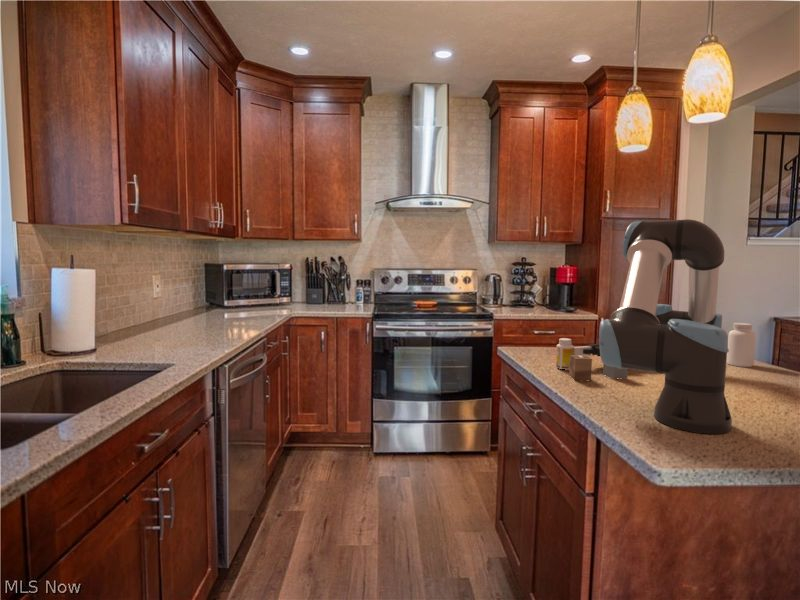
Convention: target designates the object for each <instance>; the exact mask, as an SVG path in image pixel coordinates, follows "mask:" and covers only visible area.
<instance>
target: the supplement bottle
mask: <svg viewBox="0 0 800 600" xmlns="http://www.w3.org/2000/svg"><path fill="white" fill-rule="evenodd" d="M558 341H559V342H558V344H556V351H555V352H556V358H555V362H556V365H555V367H556V369H558V368H559V369H558V370H560V369H565V370H564V371H569V370H570V355H574V347H575V345H574V344H572V341H573V340H572V339H571V338H566V337H562V338H561V337H560V338H559V339H558Z"/></svg>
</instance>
